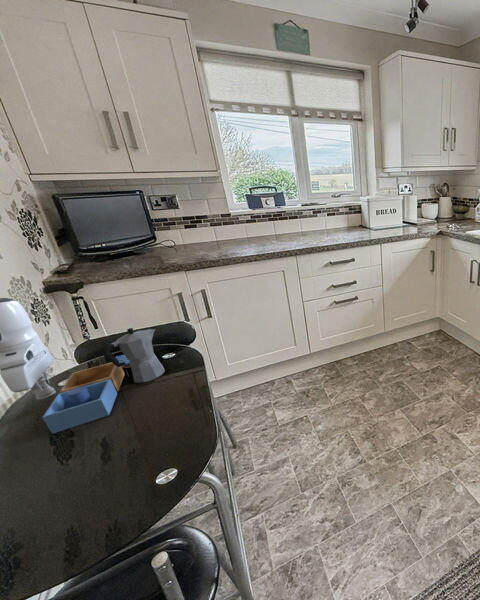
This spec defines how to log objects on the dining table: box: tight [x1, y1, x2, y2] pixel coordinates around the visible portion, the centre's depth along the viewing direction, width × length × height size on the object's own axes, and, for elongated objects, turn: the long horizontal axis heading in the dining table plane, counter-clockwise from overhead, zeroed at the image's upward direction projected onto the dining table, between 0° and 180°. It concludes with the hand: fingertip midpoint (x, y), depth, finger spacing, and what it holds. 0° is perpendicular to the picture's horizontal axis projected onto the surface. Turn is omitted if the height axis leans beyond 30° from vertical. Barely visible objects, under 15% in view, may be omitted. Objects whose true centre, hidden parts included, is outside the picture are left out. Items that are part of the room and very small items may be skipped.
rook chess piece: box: [34, 374, 57, 401], centre depth 101 cm, size 4×4×8 cm
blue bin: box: [42, 379, 118, 435], centre depth 95 cm, size 12×12×6 cm
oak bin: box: [59, 361, 126, 394], centre depth 106 cm, size 12×12×6 cm
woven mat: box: [114, 354, 131, 369], centre depth 122 cm, size 10×11×2 cm
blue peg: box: [67, 386, 93, 407], centre depth 94 cm, size 4×4×7 cm
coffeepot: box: [102, 327, 166, 384], centre depth 108 cm, size 15×9×18 cm, turn 153°
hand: (42, 388), depth 101 cm, fingers closed on rook chess piece, 3 cm apart
